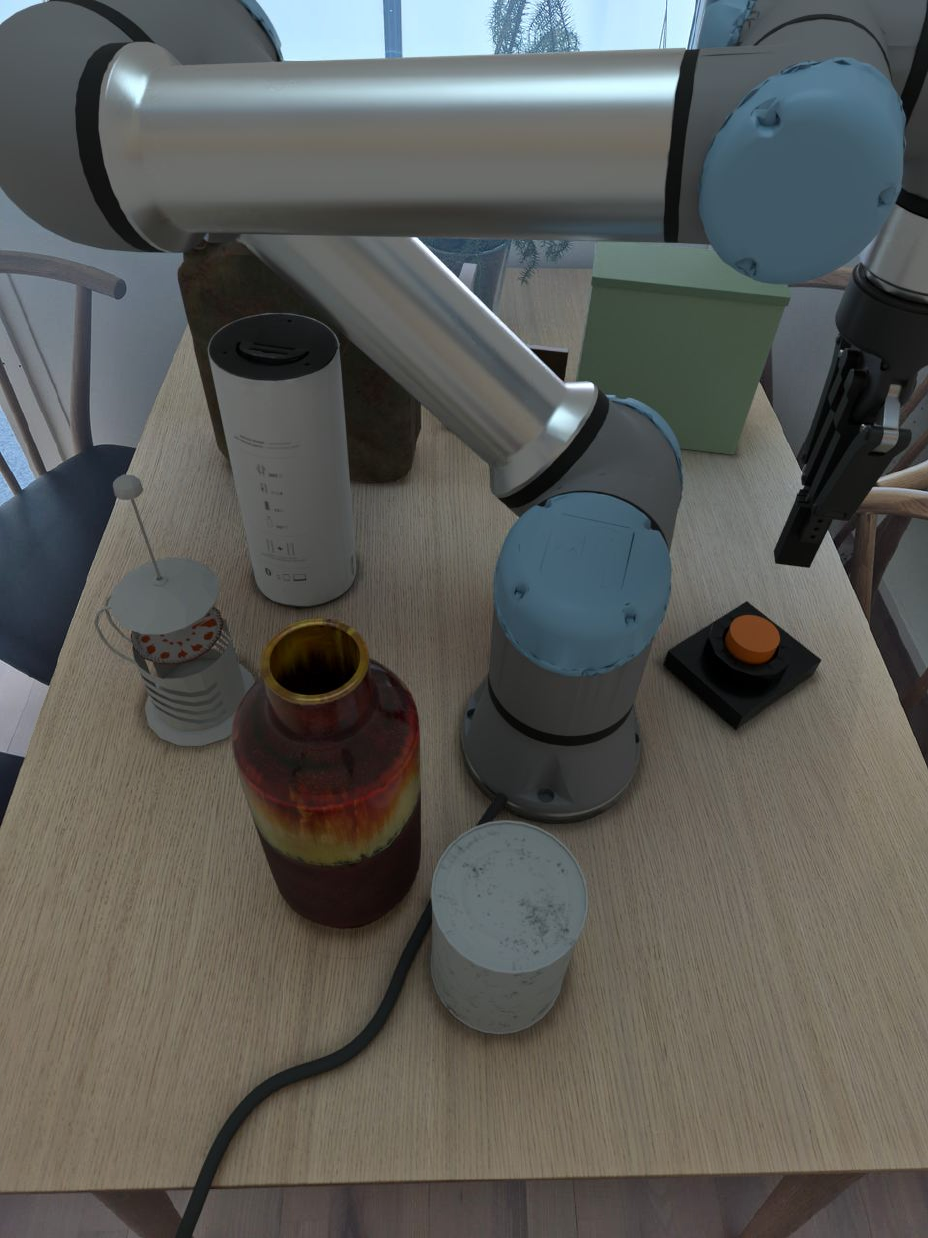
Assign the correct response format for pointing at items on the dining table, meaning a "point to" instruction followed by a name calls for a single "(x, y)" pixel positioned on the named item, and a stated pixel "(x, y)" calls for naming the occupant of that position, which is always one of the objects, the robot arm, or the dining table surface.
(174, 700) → the french press
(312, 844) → the vase
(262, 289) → the container
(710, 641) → the button block
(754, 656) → the button
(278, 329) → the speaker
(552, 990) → the pale grey cylinder
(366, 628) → the dining table surface
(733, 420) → the storage box
